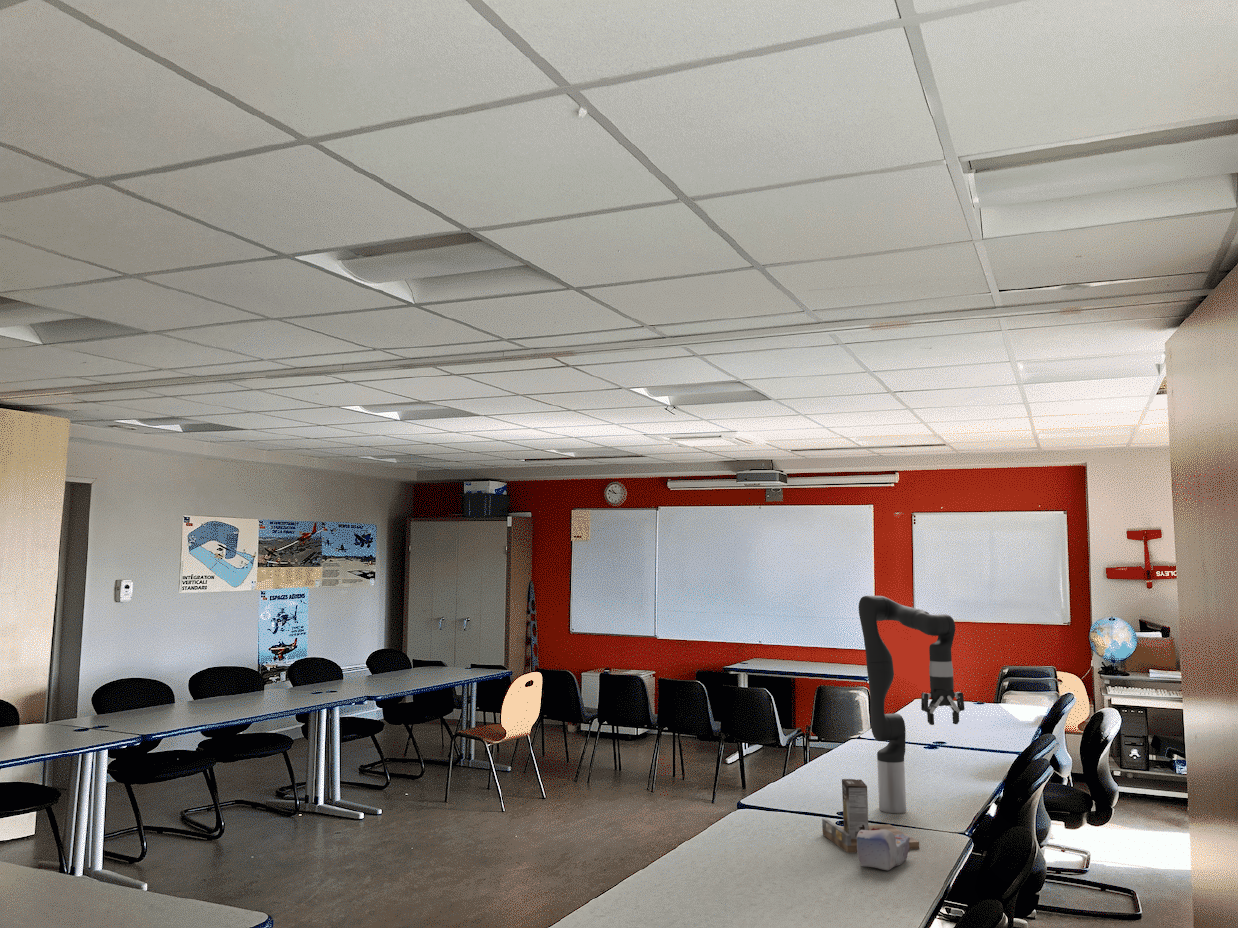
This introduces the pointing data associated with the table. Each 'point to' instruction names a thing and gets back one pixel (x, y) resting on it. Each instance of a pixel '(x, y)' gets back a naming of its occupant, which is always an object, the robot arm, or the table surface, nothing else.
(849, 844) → the shelf board
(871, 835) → the cell model
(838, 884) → the table surface
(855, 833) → the coffee box
